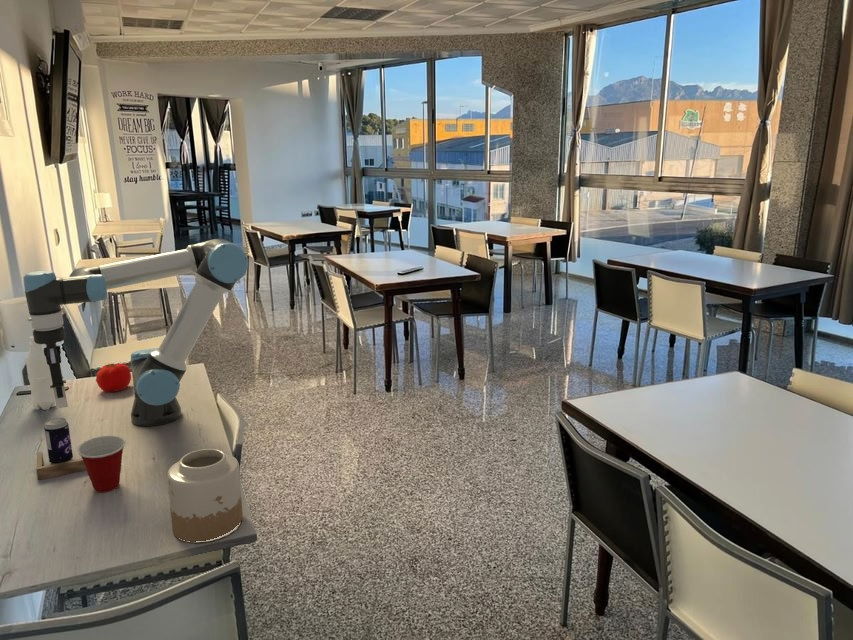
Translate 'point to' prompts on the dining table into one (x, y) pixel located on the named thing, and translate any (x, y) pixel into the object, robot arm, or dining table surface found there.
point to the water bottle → (39, 377)
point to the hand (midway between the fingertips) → (62, 406)
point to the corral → (57, 467)
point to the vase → (204, 495)
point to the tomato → (113, 377)
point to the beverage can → (58, 440)
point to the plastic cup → (103, 461)
